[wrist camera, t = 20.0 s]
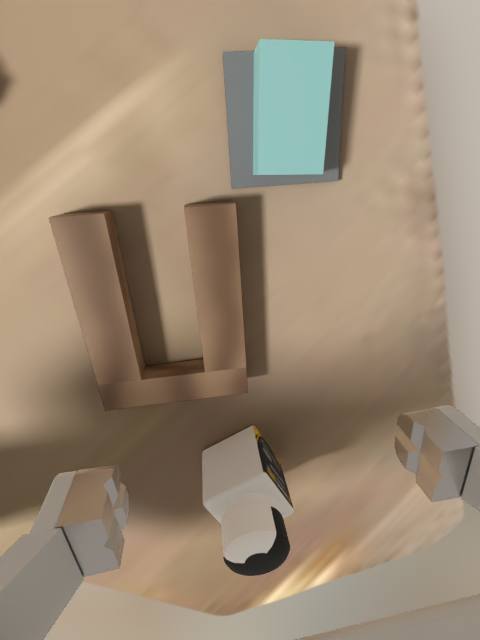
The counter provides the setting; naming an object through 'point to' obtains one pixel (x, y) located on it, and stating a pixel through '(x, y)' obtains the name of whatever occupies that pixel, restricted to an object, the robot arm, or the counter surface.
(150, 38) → the counter surface
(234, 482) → the white black angular body
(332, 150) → the slate mat
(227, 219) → the channel board
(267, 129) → the block
